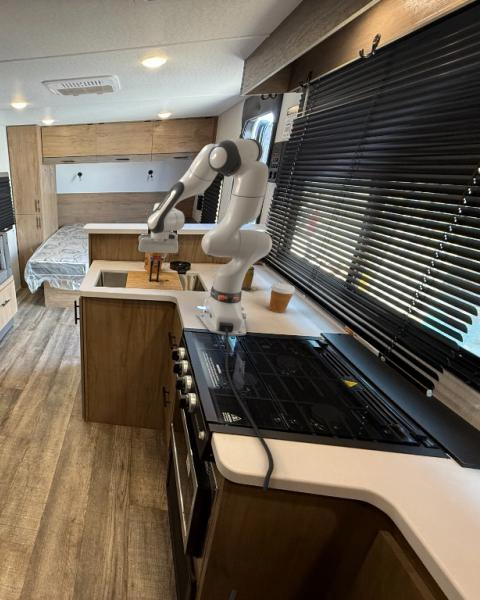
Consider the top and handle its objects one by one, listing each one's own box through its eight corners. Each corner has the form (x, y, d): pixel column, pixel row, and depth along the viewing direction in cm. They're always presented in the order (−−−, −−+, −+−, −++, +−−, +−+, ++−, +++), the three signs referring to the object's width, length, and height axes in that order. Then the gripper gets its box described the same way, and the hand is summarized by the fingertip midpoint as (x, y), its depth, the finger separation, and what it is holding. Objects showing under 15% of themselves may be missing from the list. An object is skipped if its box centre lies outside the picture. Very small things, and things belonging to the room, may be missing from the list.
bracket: (161, 286, 172) (164, 263, 166) (145, 285, 173) (147, 262, 168) (160, 280, 182) (163, 257, 176) (145, 279, 183) (147, 256, 178)
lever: (161, 260, 161) (162, 256, 161) (152, 260, 162) (152, 256, 162) (159, 265, 174) (159, 261, 174) (150, 265, 174) (150, 261, 175)
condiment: (241, 284, 174) (245, 264, 169) (256, 288, 168) (261, 268, 163) (235, 287, 170) (239, 267, 165) (250, 292, 164) (255, 270, 159)
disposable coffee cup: (261, 309, 144) (268, 285, 139) (270, 303, 150) (276, 281, 145) (284, 316, 137) (291, 291, 133) (291, 310, 143) (299, 286, 138)
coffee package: (147, 275, 190) (150, 240, 181) (142, 269, 201) (145, 235, 192) (162, 275, 190) (166, 239, 181) (157, 268, 201) (161, 235, 192)
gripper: (138, 234, 156) (136, 261, 161) (180, 236, 152) (177, 263, 158) (138, 232, 161) (137, 257, 167) (179, 233, 158) (175, 259, 163)
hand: (156, 260), depth 162 cm, fingers closed on lever, 5 cm apart
